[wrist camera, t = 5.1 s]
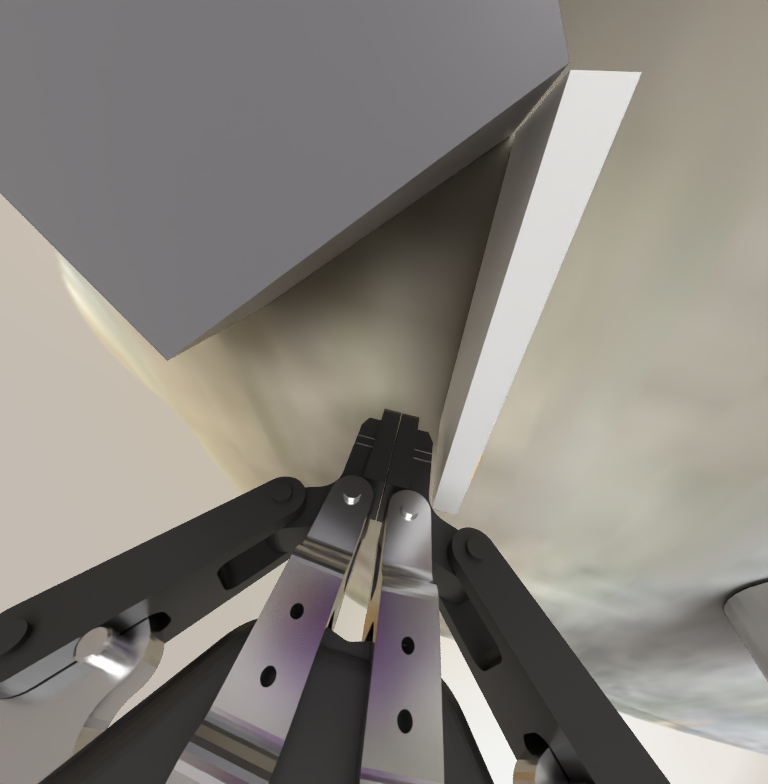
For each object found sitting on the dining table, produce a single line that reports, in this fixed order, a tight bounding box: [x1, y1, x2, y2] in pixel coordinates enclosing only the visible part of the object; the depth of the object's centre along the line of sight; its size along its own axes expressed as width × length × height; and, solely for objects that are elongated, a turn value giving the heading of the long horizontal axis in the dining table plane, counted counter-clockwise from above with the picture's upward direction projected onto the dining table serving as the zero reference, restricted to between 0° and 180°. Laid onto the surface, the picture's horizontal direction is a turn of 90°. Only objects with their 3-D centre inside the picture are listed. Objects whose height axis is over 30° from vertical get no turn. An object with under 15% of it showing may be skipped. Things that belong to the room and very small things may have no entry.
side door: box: [432, 70, 642, 515], centre depth 10 cm, size 2×12×5 cm, turn 176°
